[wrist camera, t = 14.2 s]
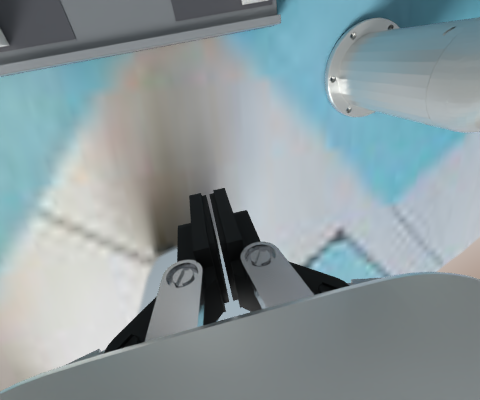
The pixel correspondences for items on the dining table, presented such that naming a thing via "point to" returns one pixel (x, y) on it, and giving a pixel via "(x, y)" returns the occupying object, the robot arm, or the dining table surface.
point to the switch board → (115, 27)
